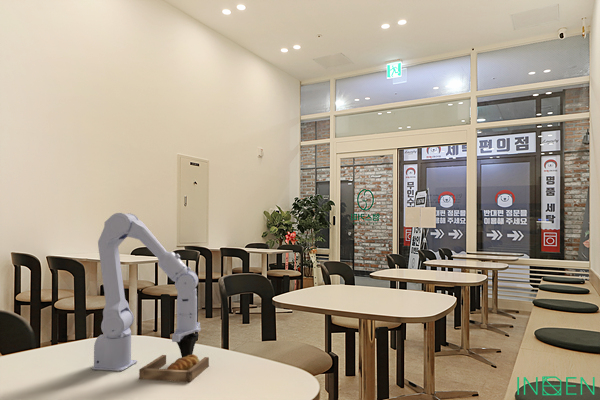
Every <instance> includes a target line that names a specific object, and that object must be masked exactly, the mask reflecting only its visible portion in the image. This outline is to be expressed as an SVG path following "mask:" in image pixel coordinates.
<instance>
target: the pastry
mask: <svg viewBox="0 0 600 400" xmlns="http://www.w3.org/2000/svg"><path fill="white" fill-rule="evenodd" d="M199 361H200V359H199V358H198V356H197V355H196V354H194V353H193V354H192V355H188V356H186V357H182V356H181V357H179V358H177V359H176V360H175V361H173V362H172V363H171V364H170V365H169V366H168V367H167V368H166V369H170V370H187V371H188V370H189V369H191V368H192V367H193V366H194V365H196V364H197V363H198V362H199Z"/></svg>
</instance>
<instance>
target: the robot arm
mask: <svg viewBox="0 0 600 400" xmlns="http://www.w3.org/2000/svg"><path fill="white" fill-rule="evenodd" d="M126 238H132V239H135V240H139V241H140V242H141V243H142V244H143V245H144V246H145V247H146V248H147V249H148V250H149V251H150V252H151V253H152V254H153V255H154V256H155V257H156V258H157V265H158V267H159V268H160V269H161V270H162V271H163V272H164V274H166V275H167V277H168V278H169V279H170V280H171V281H172V282H174V287H175V289H176V290H177V298H176V329H175V331H174V333H172V335H171V341H172V343H176V345H177V346H178V348H179V352H180V355H181V358H182V357H186V356H188V355H192V354H193V355H194V348H195V345H196V342H197V340H198V339H199V335H200V334H199V333H198V332H201V330H202V328H201V322H198V292H197V291H198V289H197V286H198V284H199V277H198V275H197V272H195V271H193V270H192V268H191V266H187V265H186V263H184V261H183V260H182V259H181V255H180V254H179V253H175V252H174V251H168V250H166V248H165V247H164V246H163V244H162V243H161V242H160V241H159V240H158V239H157V237H156V236H155V235H154V234H153V232H152V231H151V230H150V229H149V228H148V227H147V225H146V224H145V223H144V222H143V221H142V220H141V219H139V218H138V216H137V215H136V214H133V213H122V212H116V213H114V214H112V215H111V216H109V218H108V219H107V220H105V221H104V227H103V229H102V231H101V234H100V236H99V238H98V240H97V245H98V253H99V262H100V271H101V277H102V285H103V292H104V299H105V305H104V308H103V310H102V316H103V317H102V321H101V325H100V328H101V332H102V333H103V334H100V335H99V336H97V338H96V340H94V341H95V342H94V345H93V366H92V368H91V370H95V371H96V370H100V371H115V372H122V371H124V370H126V369H128V368H129V367H131V366H133V365H135V364H136V363H138V360H137V359H136V360H135V359H132V330H131V328H130V327H132V325H133V323H134V322H135V321H134V320H135V318H134V317H135V316H134V313H133V312H132V310H131V309H130V304H129V302H128V300H126V295H125V287H124V281H123V273H122V266H121V264H122V263H121V257H120V250H119V246H120V245H121V244H122V243H123V242H124V241H125V240H126Z"/></svg>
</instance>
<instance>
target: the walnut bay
mask: <svg viewBox="0 0 600 400" xmlns="http://www.w3.org/2000/svg"><path fill="white" fill-rule="evenodd" d="M166 364H167V354H161V355H160V356H159V357H157V358H156V359H154V360H152V361H151V362H149V363H146V365H144V366H142V367H141V368H139V370H138V371H139V373H138V376H139V377H138V380H144V381H145V380H148V381H163V382H164V381H166V382H179V383H181V382H182V383H191V382H192V381H194V380H195V379H196V378H197V377H198V376H199V375H200V374H202V373H203V372H204V371H205V370H206V369H208V367H209V365H210V357H209V356H204V357H203V358H201V359H200V360H199V362H198V363H197V364H196V365H194V366H193V367H192V368H191V369H189V370H188V371H187V370H170V369H167V368H165V369H164V368H162V367H164V366H165V365H166Z"/></svg>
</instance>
